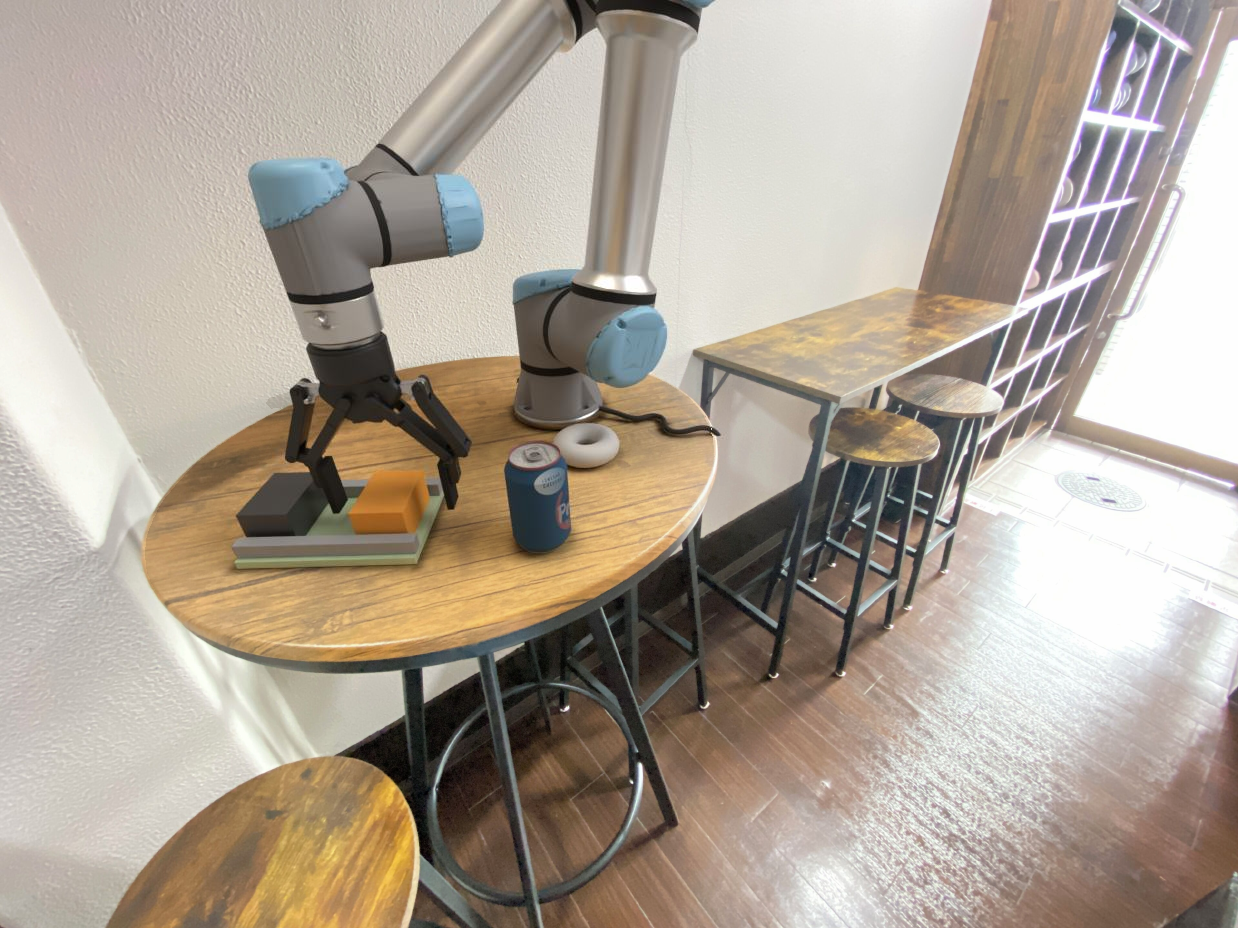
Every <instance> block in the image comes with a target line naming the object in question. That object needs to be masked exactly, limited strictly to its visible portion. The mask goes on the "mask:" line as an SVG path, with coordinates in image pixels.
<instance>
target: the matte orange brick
mask: <svg viewBox="0 0 1238 928" xmlns="http://www.w3.org/2000/svg"><path fill="white" fill-rule="evenodd" d="M424 472H425V471H424V470H423V469H416V470H415V469H413V470H409V469H408V470H374V472H373V474H372V475H371V477H369V479H370V480H369V482H368V483H367V485H366V486H365V488H364V489H363V491H362V493H361V494H360V496H359V497H358V499H357V501H356V502H355V504H354V505H353V507H352V508H351V510H350V512H349V513H348V514H349V517H350V520H351V523H352V525H353V528H354V531H355V534H356V535H362V534H402V533H415V532H416V529H417V527H418V525H419V523H420V520H421V518H422V516H423V513H424V511H425V509H426V507H427V504H428V502H429V500H430V497H429V492H428V488H427V484H426V480H425V478H426V476H425V473H424Z"/></svg>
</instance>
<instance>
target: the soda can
mask: <svg viewBox="0 0 1238 928" xmlns="http://www.w3.org/2000/svg"><path fill="white" fill-rule="evenodd" d="M503 474H504V481H505V489H506V496H507V503H508V511H509V517H510V524H511V532H512V537H513V539H514V540H515V542H516V543H517V544H518V545H519V546H520V547H522V548H523V549H524V550H525V551H527V552H529V553H532V554H540V555H541V554H548V553H551V552H554V551H556V550H558V549H560V548H561V547H562V546H563V545H564V544H565V542H566V541H567V539H568V538H569V537H570V534H571V531H572V519H571V518H572V517H571V504H570V490H569V488H570V487H569V475H568V465H567V463H566V461H565V459H564V458H563V456H562V455H561V451H560V449H559V447H558V446H556V445H555V444H553V442H550V441H546V440H528V441H524V442H521V443H519V444H517V445H515V446H513V447H512V448H511V449H510V450H509V451H508V453H507V460H506V462H505V464H504V467H503Z"/></svg>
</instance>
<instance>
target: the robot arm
mask: <svg viewBox="0 0 1238 928" xmlns="http://www.w3.org/2000/svg"><path fill="white" fill-rule="evenodd" d="M715 1H716V0H500V1H499V2H498V3H497V4H496V6H495V7H494V8H493V9H492V10H491V12H490V13H489V14H488V15H487V16H486V17H485V19H484V20H483V21H481V23H480V24H479V26H478V27H477V28H476V29H475V30H474V31H473V32H472V34H470V36H469V37H468V38H467V39H466V40H465V41H464V43H463V44H462V45H461V46H460V48H458V50H457V51H456V52H455V53H454V54H453V55H452V56H451V58H450V59H449V60H448V61H447V63H445V64H444V65H443V67H442V69H440V70H439V71H438V73H437V74H436V75H435V76H434V78H433V79H431V81H430V82H429V83H428V85H427V86H426V87H424V89H423V90H422V91H421V92H420V94H419V95H418V96H417V97H416V98H415V99H414V100H413V102H411V104H410V105H409V106H408V107H407V108H406V110H405V111H404V112H403V113H402V114H401V115H400V116H399V118H398V119H397V120H396V121H395V123H394V124H393V125H392V126H391V127H390V128H389V129H388V130H387V132H386V133H385V134H384V135H383V136H382V138H380V140H379V141H378V142H377V144H376V145H374V147H373V148H372V149H371V150H370V151H368V154H367V155H365V156H364V158H363V159H362V160H361V161H360V163H359V164H355V165H352V166H349V167H347V168H346V169H344V168H343V166H342V164H341V163H340V162H339V161H338V160H337V159H335V158H332V157H294V158H293V157H291V158H276V159H275V158H273V159H265V160H259V161H256V162H254V163H252V164H251V166H250V167H249V169H248V172H247V178H248V183H249V186H250V190H251V192H252V196H253V200H254V203H255V207H256V210H257V213H258V216H259V221H258V222H259V224H260V226H261V228H262V230H263V233H264V235H265V238H266V241H267V244H268V247H269V249H270V252H271V255H272V258H273V260H274V262H275V265H276V268H277V272H278V273H279V277H280V279H281V282H282V285H283V287H284V290H285V293H286V296H287V298H288V301H289V304H290V306H291V310H292V313H293V316H294V318H295V322H296V324H297V326H298V327H297V328H298V330H299V333H300V335H301V339H302V340H303V341H305V342H307V345H306V347H305V351H306V354H307V356H308V359H309V362H310V365H311V367H312V371H313V374H314V376H315V378H316V380H318V382H319V383H318V382H312V381H311V379H309V378H307V377H302V378H301V379H299V381H297V382H296V383H294V385H293V386H292V387H291V388H290V389H289V395H290V399H291V403H292V413H291V418H290V424H289V430H288V434H287V435H288V436H287V440H286V441H287V442H286V447H285V452H284V453H285V454H284V460H285V461H286V462H287V463H288V464H295V463H300V464H303V465H304V466H305V467H306V468H307V469H308V472H310V474H311V476H312V479H313V481H314V484H315V485H316V486H317V488H323V490H324V492H325V495H326V497H327V500H328V502H329V505H330V507H331V510H332V513H333V514H339V513H340V512H341V510H342V509H343V507H344V506H345V504H346V502H347V501H348V498H347V495H346V493H345V490H344V487H343V485H342V482H341V480H342V479H341V476H340V474H339V471H338V468H337V466H336V463H335V461H334V458H333V456H332V455H325V456H324V454H325V453H326V452H327V449H328V448H329V446H330V444H331V442H332V441H333V440H334V438H335V437H336V435H337V434H338V431H339V430H340V429H341V427H342V425H343V423H344V422H345V420H347V421H350V422H352V424H362V423H366V422H369V423H373V424H378V423H379V424H380V423H383V422H384V421H386V422H387V423H389V424H390V425H391V426H392V427H394V428H400V429H401V430H402V431H403V432H405V433H406V434H407V435H409V436H410V437H411V438H413V439H414V440H415V441H416V442H417V443H419V444H420V445H421V446H423V447H424V448H425V449H427V451H429V452H431V453H432V454H433V455H434V456H436V458H438V461H437V464H436V467H437V472H438V476H439V478H440V480H441V484H442V489H443V493H444V497H443V498H444V500H445V505H446V509H447V511H455V509H456V506H457V503H458V500H459V497H460V495H459V492H458V491H459V490H458V487H457V484H459V483H460V480H461V478H462V475H463V474H462V468H461V463H460V458H462V459H465V458H467V457H468V456H469V453H470V451H471V448H472V446H473V441H472V439H471V438H470V437H469V435H467V433H466V432H465V430H464V429H463V428H462V427H461V425H460V424H459V423H458V422H457V420H456V419H455V418H454V417H453V415H452V414H451V413H450V412H449V411H448V409H447V408H446V407H445V405H444V404H443V403H442V401H441V400H440V399H439V398H438V396H437V395H436V394H435V392H434V389H433V387H432V384H431V381H430V378H429V377H428V376H427V375H426V374H420V375H418V376H417V377H416V378H415V379H409V380H401V379H400V378H399V376H398V374H397V372H396V367H395V363H394V358H393V355H392V351H391V350H392V349H391V347H390V344H389V340H388V339H389V338H388V336H387V334H386V333H384V332H383V329H384V328H385V323H384V319H383V316H382V312H381V308H380V306H379V301H378V298H377V294H376V290H375V286H374V281H373V279H372V274H371V269H375V268H376V269H377V268H385V267H389V266H395V265H402V264H408V263H414V262H421V261H427V260H435V259H441V258H449V259H450V258H454V256H458V255H462V254H467V253H470V252H474V251H475V250H477V249H478V248H479V247H480V245H481V244H482V242H483V239H484V234H485V221H484V213H483V207H482V204H481V200H480V197H479V195H478V193H477V191H476V189H475V188H474V186H473V184H472V183H471V182H470V181H469V179H467V178H466V177H464V176H463V175H460V174H457V173H455V172H456V171H457V170H458V168H459V167H460V166H461V165H462V163H463V162H464V161H465V160H466V159H467V157H469V155H470V154H471V153H472V152H473V151H474V149H475V148H476V147H477V146H478V145H479V143H480V142H481V141H482V140H483V139H484V138H485V137H486V135H487V134H488V133H489V131H490V130H492V129H493V127H494V126H495V125H496V124H497V123H498V121H499V120H500V119H501V118H502V116H503V115H504V114H505V113H506V112H507V111H508V110H509V108H510V107H511V106H512V105H513V104H514V103H515V101H516V100H517V99H518V98H519V96H520V95H521V94H522V93H523V92H524V90H526V89H527V87H528V86H529V85H530V84H531V83H532V82H533V81H534V79H535V78H536V77H537V75H539V74H540V72H541V71H542V70H543V69H544V67H545V66H546V65H547V64H548V63H549V61H550V60H551V59H552V58H553V57H554V56H555V54H556V53H562V54H563V53H568V52H570V51H571V50H572V49H573V48H574V47H575V45H576V44H577V43H578V42H579V41H580V40H581V38H583V37H584V36H586V35H587V34H588V33H590V32H591V31H593V30H595V29H597V30H598V32H599V34H600V35H601V37H602V39H603V41H604V43H605V57H604V59H605V60H604V65H603V77H602V88H601V98H600V107H599V108H600V109H599V116H598V117H599V118H598V127H597V136H596V137H597V138H596V147H595V159H594V167H593V179H592V186H591V197H590V206H589V217H588V227H587V236H586V237H587V238H586V246H585V256H584V264H583V266H582V268H581V269H579V268H578V269H577V268H563V269H560V268H559V269H550V270H549V269H548V270H542V271H536V272H531V273H527V274H523V275H520V276H519V277H517V278H516V279H515V280H514V281H513V283H512V306H513V311H514V312H513V313H514V320H515V321H514V322H515V328H516V329H515V330H516V337H517V346H518V355H519V365H520V372H519V376H518V377H517V378H516V383H515V384H517V385H516V389H515V393H514V398H513V409H514V415H515V417H516V418H517V419H518V420H519V421H520V423H523V424H524V425H526V426H529V427H531V428H535V429H542V430H551V431H552V430H553V431H554V430H555V431H556V430H560V431H561V430H562V429H564V428H566V427H568V426H571V425H575V424H581V423H592V422H593V421H595V420H596V419H598V417H600V416H601V414H602V413H605V414H609V415H612V416H616V417H619V418H622V419H624V420H626V421H627V420H628V421H633V422H641V421H646V420H650V419H656V420H659V421H660V422H661V426H662V429H663V431H664V432H666V433H668V434H669V435H673V436H674V435H675V436H682V435H688V434H691V433H696V432H703V431H704V432H705V431H706V432H709V433H711V434H712V435H713V436H715V437H720V436H722V434H721V433H720V432H719V430H717V429H716V428H715V427H713V426H711V425H707V424H699V425H694V426H689V427H686V428H680V429H678V428H677V429H676V428H673V427H670V426H669V425H668V420H667V418H666V417H665V416H664V415H662V414H661V413H658V412H649V413H644V414H639V415H634V414H629V413H626V412H623V411H621V410H617V409H614V408H610V407H607V406H604V401H603V400H604V399H603V395H602V392H601V389H600V386H599V384H604V385H606V386H608V387H612V388H614V389H615V388H616V389H624V388H625V389H626V388H629V387H632V386H636V385H637V384H638V383H641V382H642V381H644V380H645V379H646V378H647V377H648V375H649V374H650V373H651V372H653V370H655V369H656V367H657V366H658V364H659V362H660V361H661V359H662V357H663V355H664V352H665V349H666V347H667V343H668V327H667V326H668V325H667V324H666V323H665V319H664V317H663V315H662V314H661V312H659V311H658V310H657V309H656V308H655V306H656V301H657V300H656V299H657V293H658V289H657V286H655V283H653V281H652V280H651V278H650V275H649V271H650V265H651V258H652V253H653V252H652V251H653V246H654V237H655V231H656V225H657V224H656V223H657V218H658V213H659V204H660V200H661V199H660V197H661V192H662V186H663V177H664V172H665V165H666V158H667V152H668V145H669V139H670V132H671V126H672V118H673V111H674V105H675V98H676V91H677V86H678V80H679V71H680V65H681V58H682V56H683V55H684V54H685V53H686V52H687V51H688V50H689V49H690V48H691V47H692V46H693V45H694V44H696V42H697V40H698V37H699V29H700V23H701V19H702V12H703V9H704V8H705V9H706V8H709V6H710V5H711V4H712V3H714V2H715ZM454 173H455V174H454ZM598 383H599V384H598ZM403 394H405V395H407V396H408V397H409V400H410V401H411V402H415V403H416V405H417V407H418V408H419V410H420V411H421V412H422V414H423V415H424V417H426V419H427V420H428V421H429V422H430V423H431V424H430V423H429V422H428V421H426V419H424V418H423V417H422V416H420V414H418V413H417V412H416V411H414V410H413V408H412V406H411V404H409V403H408V402H407V401H406V400H405V399H404V398H402V395H403ZM319 397H320V398H321V399H322V400H323V401H324V402H325V403H326V404H327V405H329V406H330V407H331V408H332V411H331V412H330V414H329V416H328V417H327V420H326V421H325V424H324V425H323V427H322V429H321V430H320V432H319V434H318V435H317V437H316V438H315V440H314V442H313V444H312V445H311V447H307V446H308V441H309V436H310V430H311V427H312V426H311V425H312V421H313V416H314V411H315V406H316V405H315V404H316V401H318V399H319ZM395 409H396V410H397V412H396V411H395ZM710 426H711V427H710ZM711 428H712V430H711ZM323 456H324V457H323Z"/></svg>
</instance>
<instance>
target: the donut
mask: <svg viewBox="0 0 1238 928" xmlns="http://www.w3.org/2000/svg"><path fill="white" fill-rule="evenodd" d="M552 443H553V444H555V445H556V446H558V447H559V449H560V451H561V455H562V456H563V458H564V459H565V461H566V463H567V466H569V467H574V468H580V469H591V468H597V467H601V466H603V465H606V464H607V463H609V462H610V461H612V460H613V459H614V458H615V457H616V455H617V454H618V453H619V450H620V449H619V448H620V444H621V443H620V440H619V438H618V435H617V434H616V432H615V431H614V430H613V429H611V428H610V427H608V426H606V425H603V424H600V423H594V422H589V423H581V424H575V425H571V426H568V427H566V428H564V429H560V431H559V432H558V433H556V434H555V436H554V439H553V442H552Z"/></svg>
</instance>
